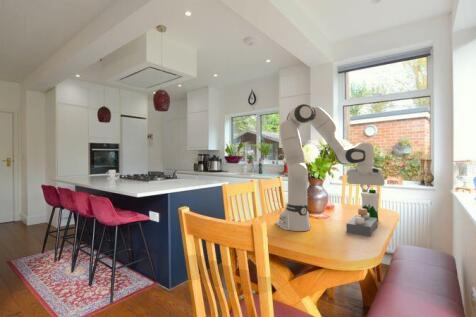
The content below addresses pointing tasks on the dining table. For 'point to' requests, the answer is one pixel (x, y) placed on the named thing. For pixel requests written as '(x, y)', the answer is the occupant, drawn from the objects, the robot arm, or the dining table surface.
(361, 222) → the white knob
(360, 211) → the terracotta knob
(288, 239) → the dining table surface
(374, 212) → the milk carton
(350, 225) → the console
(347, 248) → the dining table surface
